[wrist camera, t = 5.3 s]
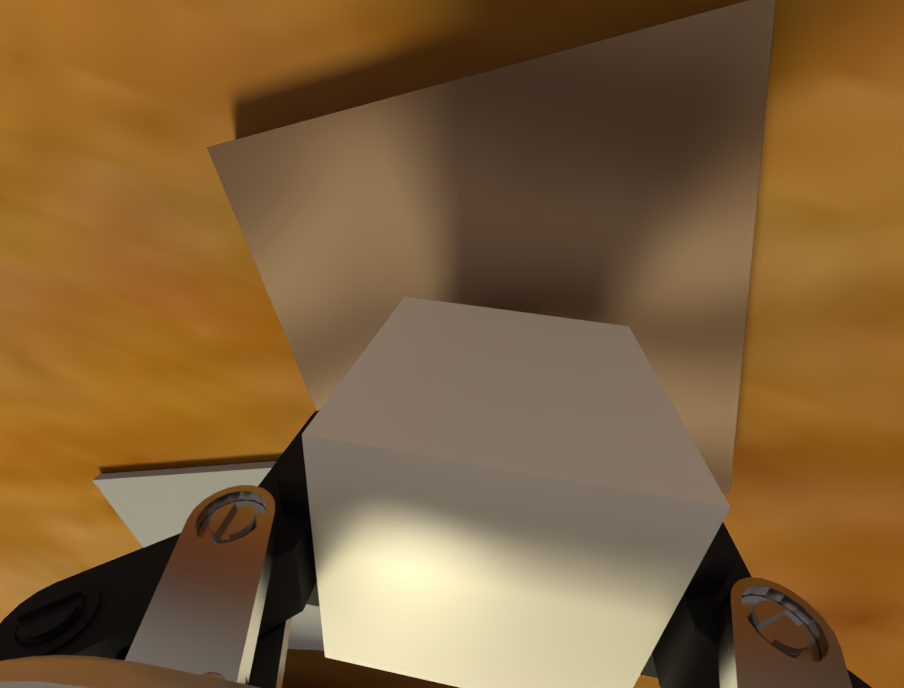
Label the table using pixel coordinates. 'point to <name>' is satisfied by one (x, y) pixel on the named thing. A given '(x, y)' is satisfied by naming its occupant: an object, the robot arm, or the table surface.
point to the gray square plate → (170, 504)
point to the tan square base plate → (532, 205)
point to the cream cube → (503, 501)
